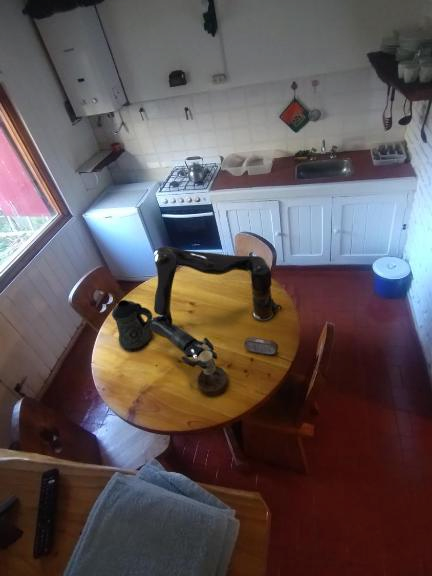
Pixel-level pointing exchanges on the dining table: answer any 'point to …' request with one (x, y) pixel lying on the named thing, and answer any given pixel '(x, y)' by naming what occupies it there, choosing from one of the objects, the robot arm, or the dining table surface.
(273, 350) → the tin
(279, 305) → the robot arm
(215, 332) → the dining table surface
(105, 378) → the dining table surface
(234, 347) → the dining table surface
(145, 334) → the beer stein
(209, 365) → the disc stack
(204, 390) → the stand
